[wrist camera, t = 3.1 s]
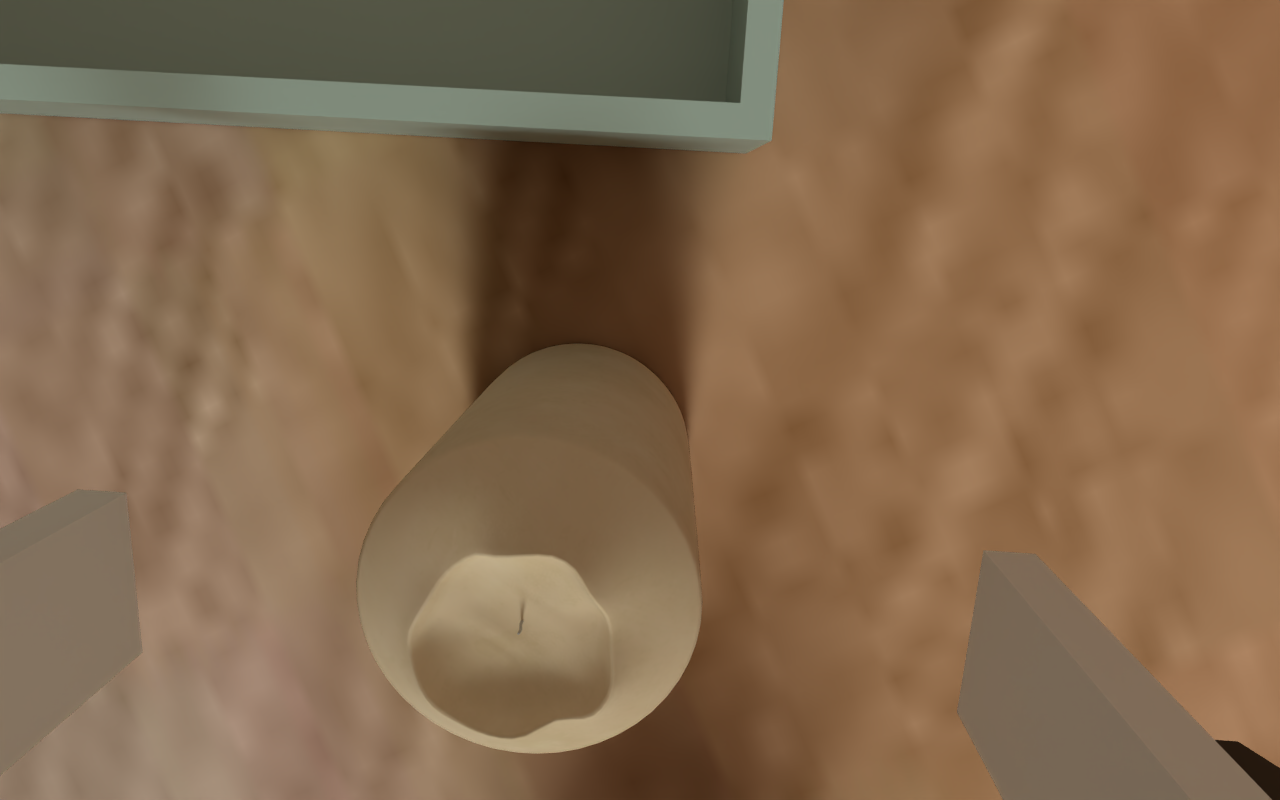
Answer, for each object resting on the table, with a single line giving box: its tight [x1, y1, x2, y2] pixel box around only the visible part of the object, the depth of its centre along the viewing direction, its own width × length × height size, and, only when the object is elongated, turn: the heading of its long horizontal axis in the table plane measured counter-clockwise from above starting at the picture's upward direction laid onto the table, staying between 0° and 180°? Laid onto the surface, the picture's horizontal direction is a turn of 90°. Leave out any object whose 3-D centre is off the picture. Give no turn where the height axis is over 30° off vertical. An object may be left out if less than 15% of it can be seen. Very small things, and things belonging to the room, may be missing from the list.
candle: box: [356, 343, 702, 754], centre depth 17 cm, size 6×6×10 cm
